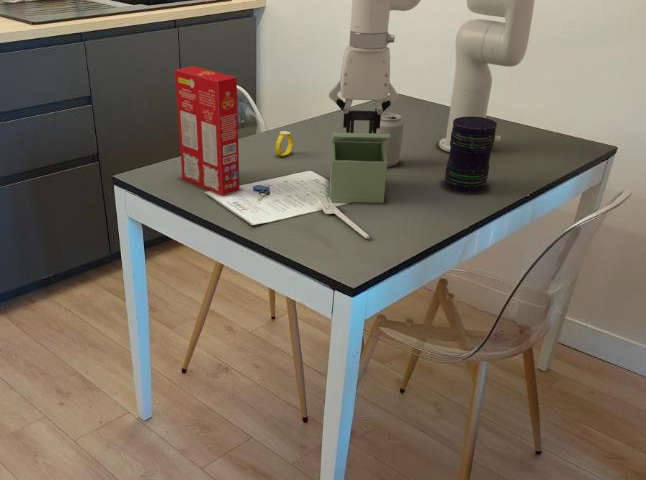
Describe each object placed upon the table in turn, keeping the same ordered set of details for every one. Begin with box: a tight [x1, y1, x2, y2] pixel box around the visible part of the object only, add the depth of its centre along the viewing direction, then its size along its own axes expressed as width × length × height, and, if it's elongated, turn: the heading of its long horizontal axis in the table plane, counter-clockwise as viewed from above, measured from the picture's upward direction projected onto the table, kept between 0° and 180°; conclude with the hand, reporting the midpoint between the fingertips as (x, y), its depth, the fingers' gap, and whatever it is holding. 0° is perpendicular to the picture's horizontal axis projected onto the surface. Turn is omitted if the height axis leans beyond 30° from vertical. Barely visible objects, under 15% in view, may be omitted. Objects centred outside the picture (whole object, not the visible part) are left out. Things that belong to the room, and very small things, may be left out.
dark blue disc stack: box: [443, 117, 498, 195], centre depth 162 cm, size 10×10×15 cm
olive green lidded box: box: [329, 140, 388, 204], centre depth 161 cm, size 14×12×9 cm
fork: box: [318, 196, 370, 240], centre depth 148 cm, size 3×20×2 cm, turn 24°
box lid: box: [331, 109, 390, 142], centre depth 156 cm, size 15×12×6 cm
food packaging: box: [174, 65, 240, 196], centre depth 159 cm, size 15×5×25 cm, turn 44°
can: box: [372, 112, 404, 168], centre depth 176 cm, size 8×8×12 cm
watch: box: [275, 130, 294, 158], centre depth 183 cm, size 6×3×6 cm, turn 144°
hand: (361, 130), depth 152 cm, fingers closed on box lid, 5 cm apart
